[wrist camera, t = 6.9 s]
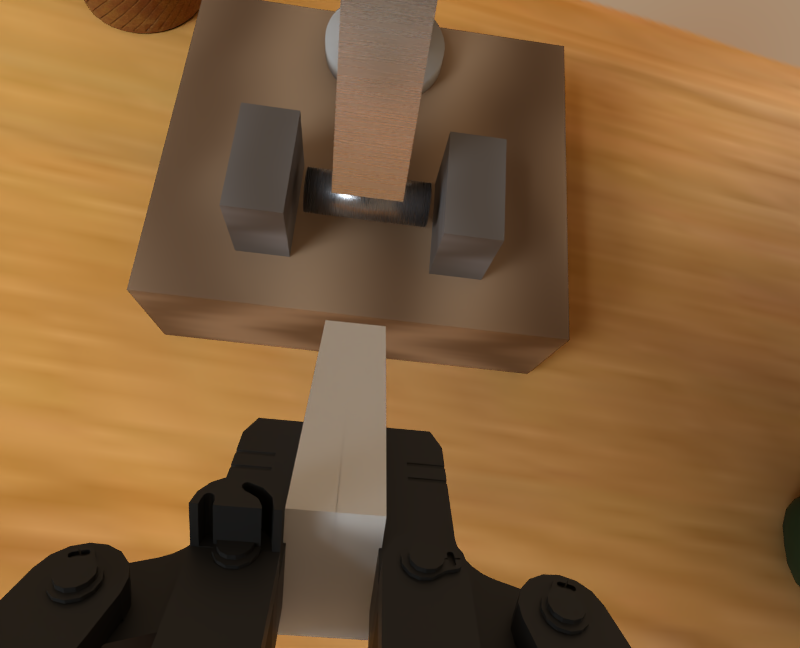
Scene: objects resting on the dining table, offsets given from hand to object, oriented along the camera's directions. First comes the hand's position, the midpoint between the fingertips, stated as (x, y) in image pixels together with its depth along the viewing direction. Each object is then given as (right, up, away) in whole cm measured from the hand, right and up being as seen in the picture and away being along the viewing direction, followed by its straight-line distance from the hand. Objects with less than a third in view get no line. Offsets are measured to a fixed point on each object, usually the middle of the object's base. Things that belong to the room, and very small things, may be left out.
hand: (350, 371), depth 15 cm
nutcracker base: (0, +6, +13) cm, 15 cm away
